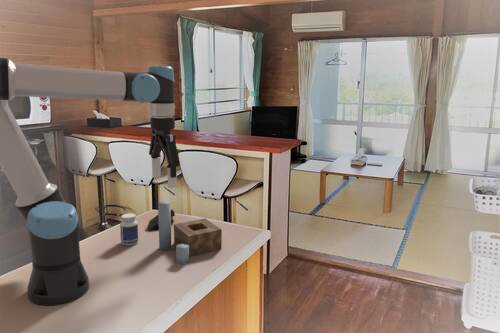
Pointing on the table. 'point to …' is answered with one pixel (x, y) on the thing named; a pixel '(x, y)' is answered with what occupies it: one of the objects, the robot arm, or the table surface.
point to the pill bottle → (129, 229)
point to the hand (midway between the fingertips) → (164, 182)
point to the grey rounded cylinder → (182, 253)
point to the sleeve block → (198, 236)
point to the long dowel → (164, 225)
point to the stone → (155, 221)
